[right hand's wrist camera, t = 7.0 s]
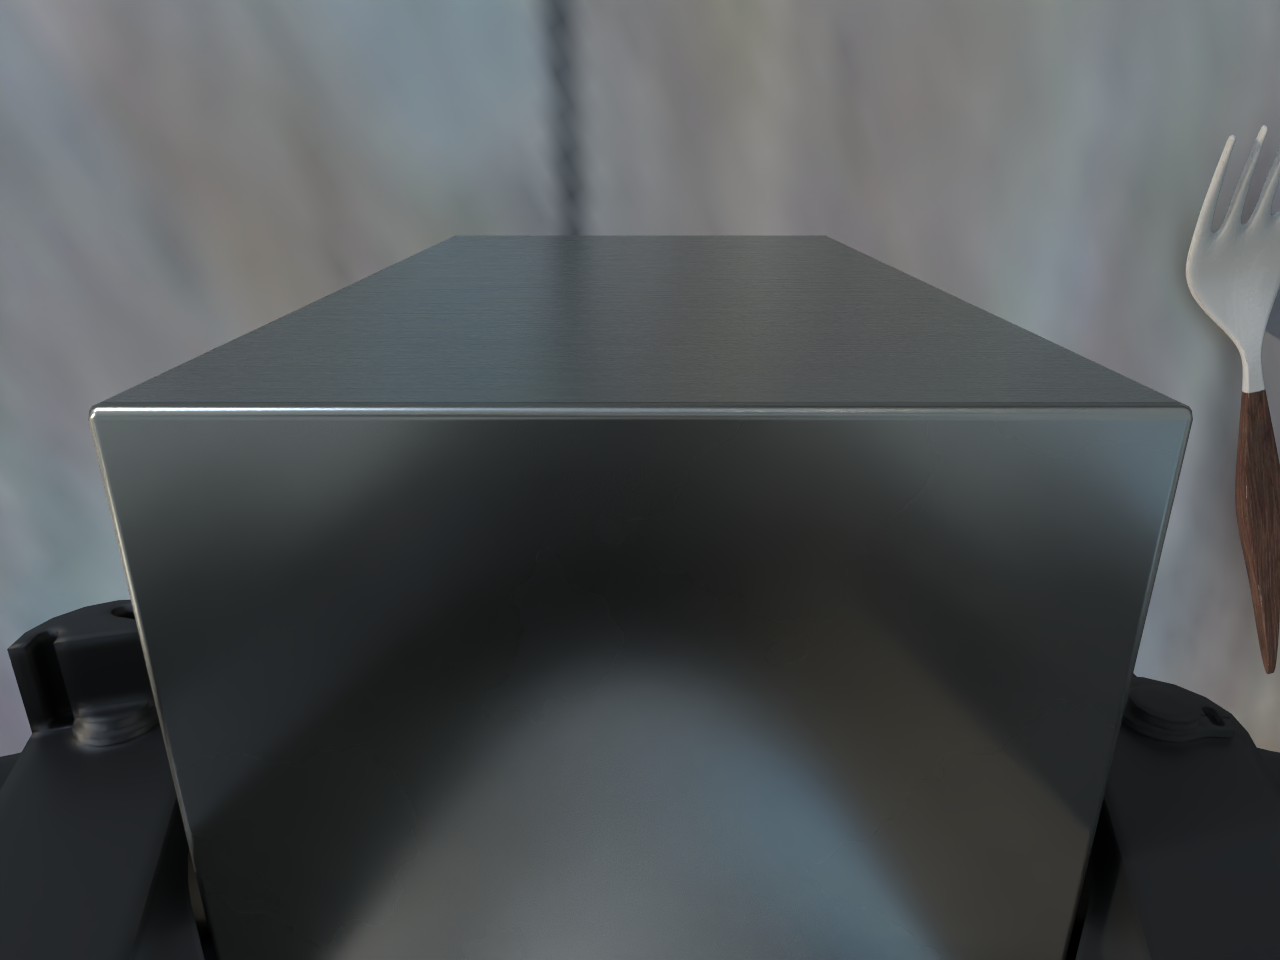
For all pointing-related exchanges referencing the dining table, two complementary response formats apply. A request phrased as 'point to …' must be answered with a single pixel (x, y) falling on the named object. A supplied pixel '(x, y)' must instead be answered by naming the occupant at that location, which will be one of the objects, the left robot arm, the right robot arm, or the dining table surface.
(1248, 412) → the fork
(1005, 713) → the bar
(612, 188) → the dining table surface
